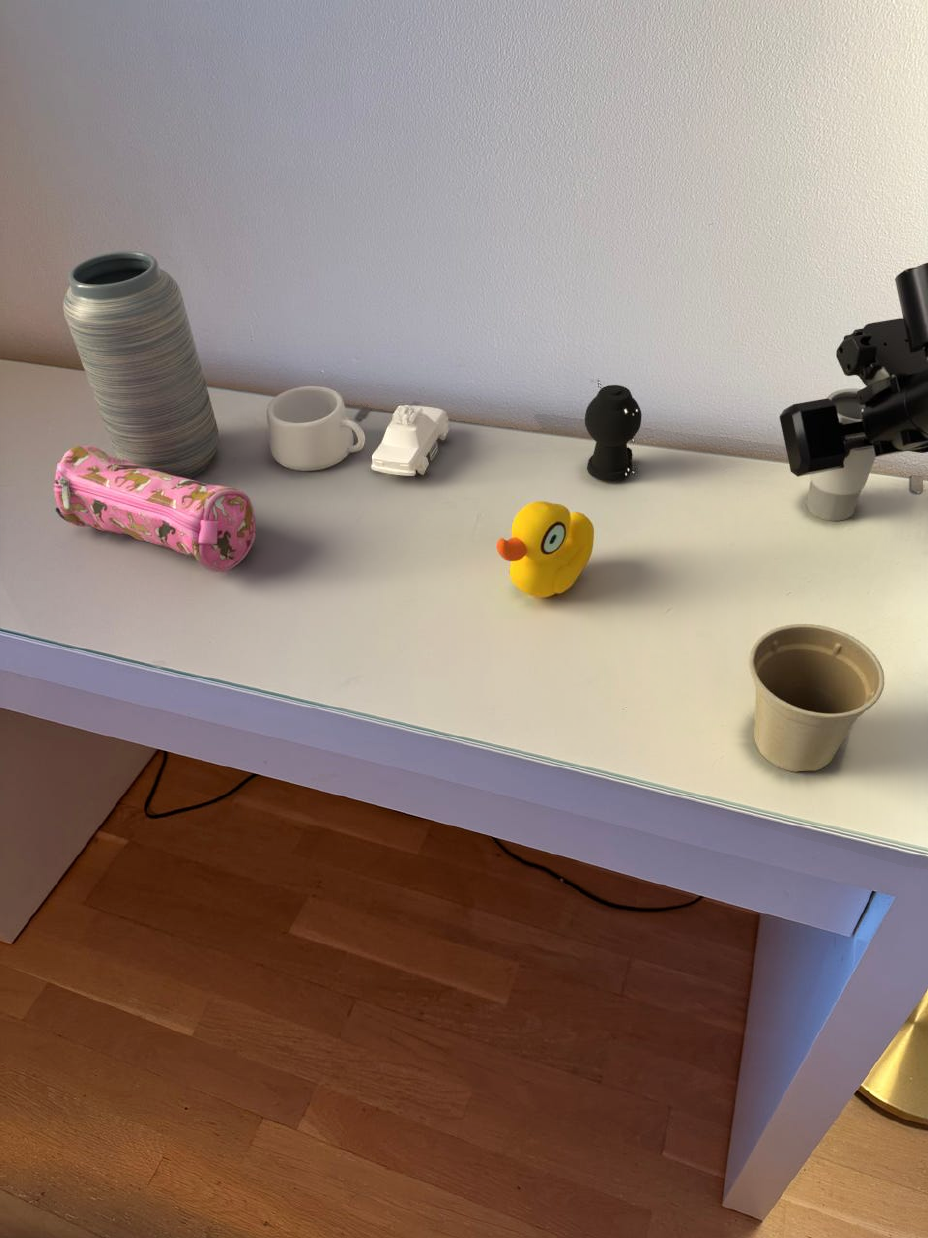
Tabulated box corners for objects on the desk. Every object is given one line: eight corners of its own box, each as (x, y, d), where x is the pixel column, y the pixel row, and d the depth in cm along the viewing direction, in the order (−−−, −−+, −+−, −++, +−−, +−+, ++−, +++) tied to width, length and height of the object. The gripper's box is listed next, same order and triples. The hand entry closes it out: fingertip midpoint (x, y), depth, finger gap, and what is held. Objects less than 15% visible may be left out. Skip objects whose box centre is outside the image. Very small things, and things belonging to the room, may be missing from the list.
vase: (102, 481, 106) (26, 285, 90) (163, 428, 113) (103, 239, 97) (186, 500, 102) (122, 299, 86) (243, 445, 110) (195, 251, 94)
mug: (256, 464, 106) (244, 419, 102) (298, 421, 113) (289, 377, 108) (347, 485, 103) (340, 438, 98) (386, 439, 109) (381, 393, 105)
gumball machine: (651, 476, 101) (660, 394, 94) (609, 496, 99) (615, 414, 92) (611, 449, 105) (616, 369, 98) (570, 468, 103) (572, 387, 96)
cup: (854, 535, 92) (886, 431, 84) (787, 517, 94) (811, 414, 86) (872, 497, 96) (903, 394, 88) (807, 480, 99) (832, 379, 90)
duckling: (521, 631, 84) (520, 546, 78) (482, 603, 88) (477, 518, 81) (606, 574, 90) (612, 489, 83) (566, 549, 93) (569, 465, 86)
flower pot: (740, 687, 78) (758, 612, 72) (859, 711, 76) (886, 636, 70) (724, 773, 72) (741, 699, 66) (852, 803, 69) (882, 729, 63)
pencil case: (59, 541, 98) (27, 471, 92) (119, 493, 104) (93, 424, 98) (220, 596, 90) (197, 524, 84) (275, 541, 96) (258, 470, 90)
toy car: (454, 433, 109) (450, 381, 104) (418, 491, 101) (412, 438, 96) (406, 426, 111) (401, 375, 106) (368, 483, 103) (360, 430, 98)
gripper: (1018, 290, 78) (907, 351, 93) (812, 323, 75) (733, 380, 91) (1046, 420, 77) (929, 459, 93) (840, 458, 75) (756, 492, 91)
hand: (837, 445), depth 92 cm, fingers closed on cup, 6 cm apart
